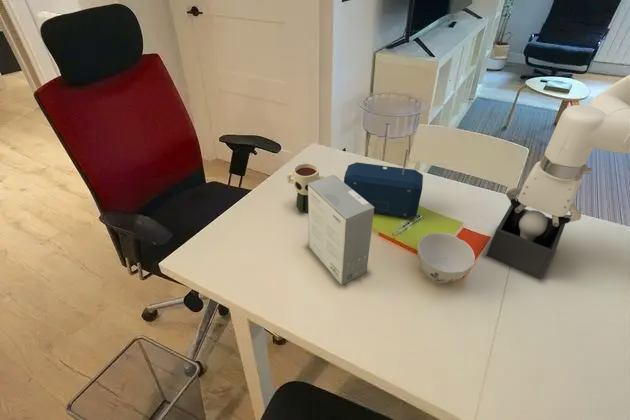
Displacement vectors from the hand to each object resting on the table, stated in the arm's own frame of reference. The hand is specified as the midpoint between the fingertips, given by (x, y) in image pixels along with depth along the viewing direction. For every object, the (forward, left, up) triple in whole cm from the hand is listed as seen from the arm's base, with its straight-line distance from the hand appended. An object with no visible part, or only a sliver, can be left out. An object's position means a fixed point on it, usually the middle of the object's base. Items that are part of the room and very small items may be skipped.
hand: (530, 228), depth 89 cm
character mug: (+55, +18, -8) cm, 58 cm away
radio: (+38, +5, -8) cm, 39 cm away
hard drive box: (+36, +30, -8) cm, 47 cm away
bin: (0, 0, -8) cm, 8 cm away
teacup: (+14, +18, -8) cm, 24 cm away
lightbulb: (0, 0, -6) cm, 6 cm away
